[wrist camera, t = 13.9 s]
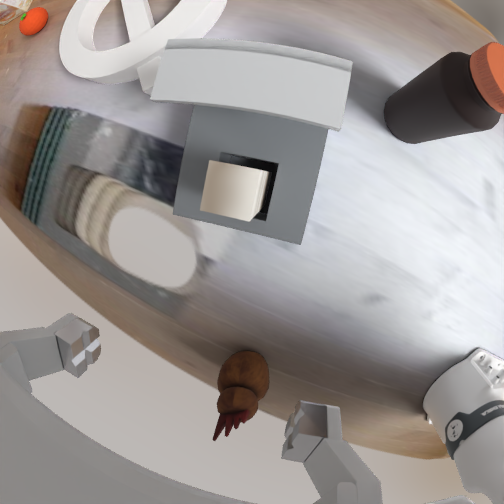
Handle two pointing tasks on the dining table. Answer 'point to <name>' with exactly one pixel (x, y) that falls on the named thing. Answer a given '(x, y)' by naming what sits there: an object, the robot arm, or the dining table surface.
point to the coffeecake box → (12, 9)
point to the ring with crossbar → (131, 39)
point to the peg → (234, 190)
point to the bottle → (450, 97)
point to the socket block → (254, 121)
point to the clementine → (33, 21)
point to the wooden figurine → (240, 389)
